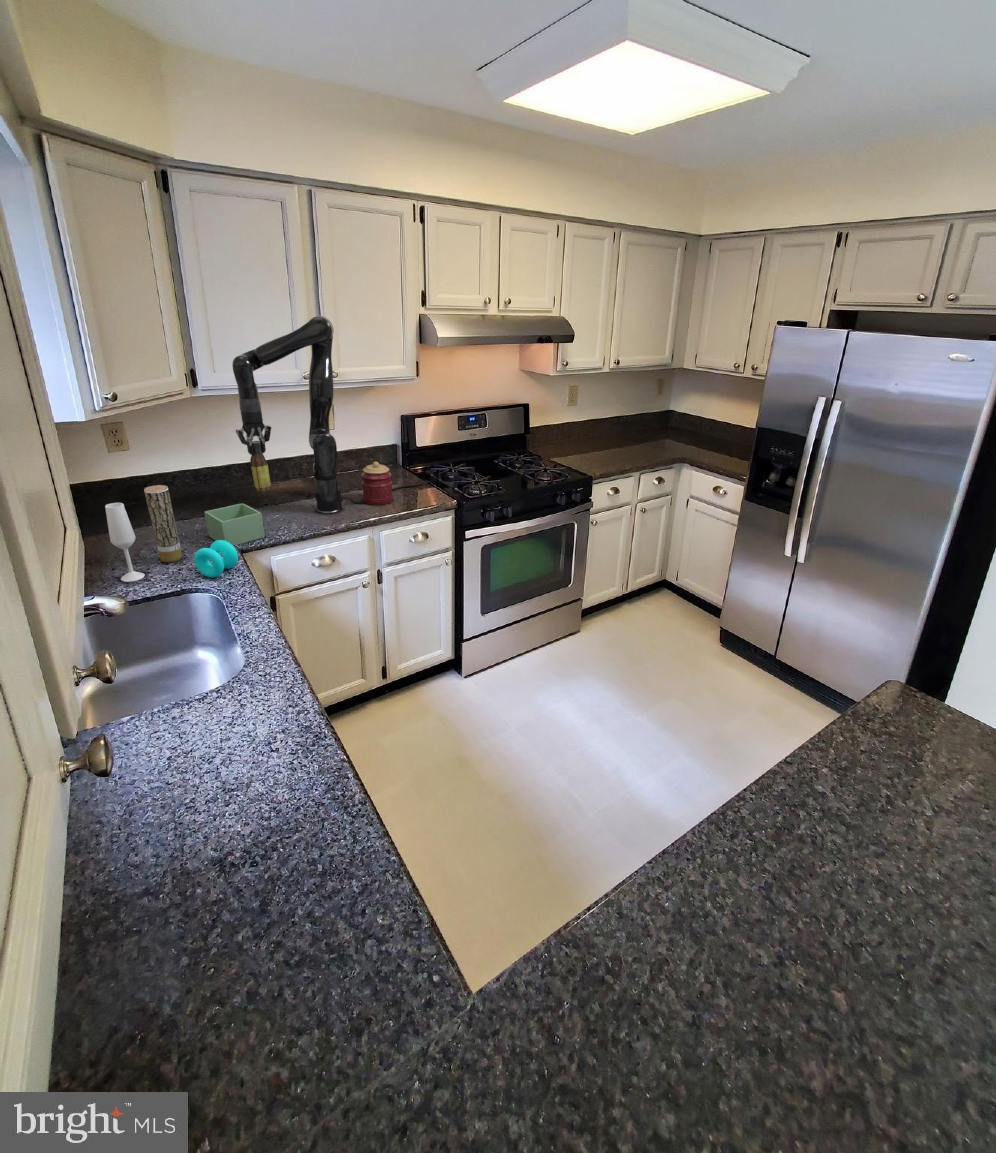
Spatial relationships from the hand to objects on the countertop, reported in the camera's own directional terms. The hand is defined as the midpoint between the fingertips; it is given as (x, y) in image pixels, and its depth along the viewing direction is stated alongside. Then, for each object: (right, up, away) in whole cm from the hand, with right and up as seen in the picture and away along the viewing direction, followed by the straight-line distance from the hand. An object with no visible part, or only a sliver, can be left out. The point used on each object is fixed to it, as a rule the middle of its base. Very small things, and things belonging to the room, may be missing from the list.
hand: (257, 453), depth 237 cm
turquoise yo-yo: (+5, -48, -42) cm, 64 cm away
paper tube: (-15, -43, -34) cm, 57 cm away
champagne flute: (-21, -49, -47) cm, 71 cm away
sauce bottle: (0, -14, +7) cm, 15 cm away
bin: (-2, -34, -15) cm, 37 cm away
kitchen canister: (+42, -16, +28) cm, 53 cm away
